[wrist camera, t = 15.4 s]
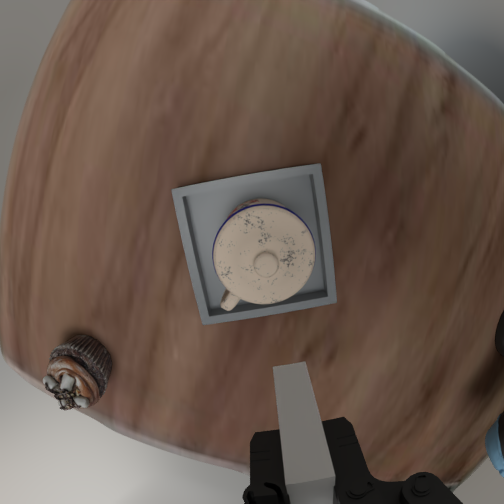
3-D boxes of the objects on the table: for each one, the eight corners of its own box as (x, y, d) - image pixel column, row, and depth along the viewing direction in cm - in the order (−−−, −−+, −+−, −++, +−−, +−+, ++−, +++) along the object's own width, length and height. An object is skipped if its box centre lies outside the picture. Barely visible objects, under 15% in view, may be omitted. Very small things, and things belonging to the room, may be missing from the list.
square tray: (314, 164, 35) (320, 163, 32) (330, 293, 39) (336, 302, 36) (177, 187, 35) (171, 189, 32) (205, 314, 39) (202, 325, 36)
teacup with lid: (247, 180, 34) (247, 184, 23) (315, 223, 35) (345, 248, 24) (193, 269, 37) (171, 311, 25) (259, 306, 38) (264, 360, 27)
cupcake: (129, 370, 42) (107, 414, 32) (90, 388, 43) (66, 427, 33) (90, 319, 39) (56, 356, 30) (53, 342, 41) (21, 376, 31)
